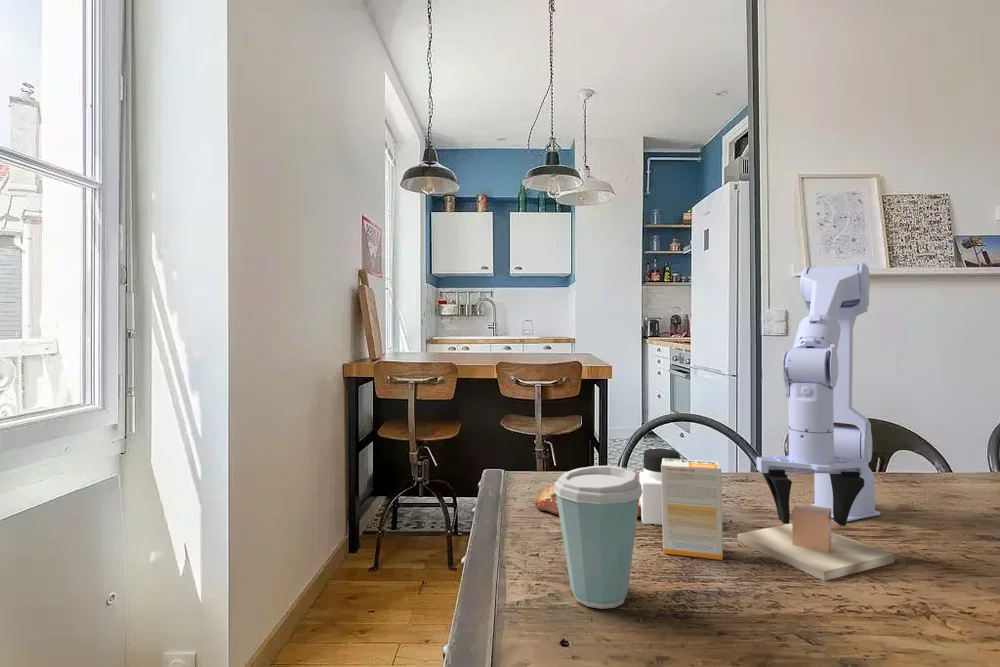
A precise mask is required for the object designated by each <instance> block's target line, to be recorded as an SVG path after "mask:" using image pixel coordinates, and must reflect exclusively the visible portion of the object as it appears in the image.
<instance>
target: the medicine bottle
mask: <svg viewBox="0 0 1000 667" xmlns="http://www.w3.org/2000/svg"><path fill="white" fill-rule="evenodd" d="M663 458H668V459H681V455H680V453H679V452H678V451H676V450H674V449H673V448H668V447H667V448H666V447H650V448H648V449H645V450H644V451H643V471H640V472H639V483H640V484H641V488H642V495H641V497H640V502H641V516H640V517H641V518H640V520H641V523H642V524H643V525H651V524H654V525H655V526H662V476H661V464H662V459H663ZM654 525H653V526H654Z"/></svg>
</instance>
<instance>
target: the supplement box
mask: <svg viewBox="0 0 1000 667" xmlns="http://www.w3.org/2000/svg"><path fill="white" fill-rule="evenodd" d="M661 476H662V525H661V526H662V551H663V554H666V555H677V556H684V557H686V556H687V557H695V558H702V559H710V560H711V559H712V560H717V561H718V560H719V561H722V560H723V558H724V552H723V551H724V550H723V549H724V548H723V545H724V543H723V542H724V540H723V536H724V535H723V497H722V496H723V494H722V492H723V490H722V487H723V486H722V468H721V466H720V463H719V461H715V460H714V461H713V460H701V459H700V460H699V459H682V458H680V459H668V458H663V459H662V464H661Z"/></svg>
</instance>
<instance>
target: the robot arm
mask: <svg viewBox="0 0 1000 667" xmlns="http://www.w3.org/2000/svg"><path fill="white" fill-rule="evenodd" d="M799 277H800V278H799V279H800V281H799V286H800V287H799V288H800V294H801V297H802V299H803V302H804V305H805V307H806V308H807V310H808V312H809V313H808V315H807V316H805V317H804V318H802V319H801V320H800V322H799V323H798V328H797V330H796V334H795V338H794V342H793V345H792V347H791V348H790V350H789V351H787V350H785V352H784V353H783V357H782V363H781V364H782V365H781V366H782V368H781V369H782V377H783V382H784V393H785V398H788V399H787V400H788V401H787V407H788V408H787V410H788V414H787V415H788V416H787V418H788V424H787V425H788V455H778V456H756V470H757V471H758V472H759V473H761V475H763V478H764V479H765V482H766V484H767V486H768V487H769V490H770V493H771V495H772V497H773V500H774V501H773V502H774V503H775V507H776V511H777V517H778V520H780V522H781V523H783V525H786V524H790V519H791V516H790V513H791V512H790V497H791V488H792V483H793V481H792V480H791V479H790V478H788V475H787V474H786V473H792V474H793V473H795V474H797V473H798V474H802V473H803V474H813V478H814V480H813V482H814V484H813V487H814V489H813V490H814V492H813V493H814V496H813V498H814V503H810V504H809V503H808V505H813V506H819V507H825V508H831V519H832V518H833V522H834V523H836V524H838V525H839V526H841V527H845V526H847V523H848V522H851V521H856V520H860V519H866V518H867V519H868V518H871V517H875V516H880V515H881V511H877V510H876V480H875V475H874V473H873V471H872V469H871V468H870V466H869V463H870V462H871V461H872V456H873V435H872V424H871V422H870V420H869V418H868V417H866V416H865V415H863V414H862V413H860V412H859V411H857V410H856V409H854V407H853V370H854V369H853V359H854V357H853V356H854V352H853V348H854V346H853V345H854V326H855V323H856V320H857V317H859V316H860V315H862V314H865V313H867V312H868V307H869V306H870V271H869V266H868V265H867V264H866V263H864V262H859V263H857V264H856V263H855V264H854V263H853V264H845V265H829V266H817V267H809V266H807V267H804V269H803V270H802V271H801V272H800V276H799ZM834 423H837V424H849V425H854V426H844V425H834Z"/></svg>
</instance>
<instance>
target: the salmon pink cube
mask: <svg viewBox="0 0 1000 667" xmlns="http://www.w3.org/2000/svg"><path fill="white" fill-rule="evenodd" d="M791 511H792V512H791V518H792V521H791V522H792V541H793V545H795V546H800V547H804V548H809V549H814V550H818V551H823V552H828V551H829V549H830V546H831V543H832V541H831V532H832V517H831V508H825V507H819V506H813V505H809V504H806V503H798V502H797V503H796V504H795V505H794V507H793V508H792V510H791Z"/></svg>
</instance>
